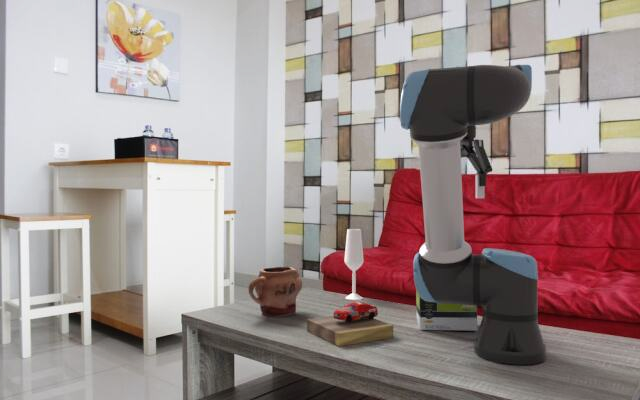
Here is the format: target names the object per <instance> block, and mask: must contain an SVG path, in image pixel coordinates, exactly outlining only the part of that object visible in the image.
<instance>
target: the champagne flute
mask: <svg viewBox="0 0 640 400" xmlns="http://www.w3.org/2000/svg"><path fill="white" fill-rule="evenodd" d="M345 238H346V239H345V250H344V258H343V259H344V260H343V261H344V264H345V265H346V266H347V268H349V270H350V271H352V275H351V276H352V277H351V280H352V281H351V282H352V283H351V284H352V286H351V289H352V290H351V292H352V293H350V294H348V295H347V296H345V299H346V300H356V301H357V300H362V299H363V297H362V296H360V295H359V294H358V293H356V289H357V288H356V287H357V286H356V284H357V283H356V282H357V281H356V280H357V278H356V277H357V275H356V274H357V273H356V271H358V270H359V269H360V268H361V267H362V266H363V264H364V260H365V259H364V250H363V239H362V238H363V237H362V230H361V229H360V228H347V230H346V237H345Z"/></svg>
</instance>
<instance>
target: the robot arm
mask: <svg viewBox="0 0 640 400" xmlns="http://www.w3.org/2000/svg"><path fill="white" fill-rule="evenodd" d="M532 71H533V69H532V65H530V64H516V65H505V66H503V65H493V64H479V65H477V64H476V65H467V66H455V67H444V68H443V67H442V68H441V67H439V68H428V69H423V70H417V71H413V72H410V73H408V75H407V76H406V78H405V79H404V83H403V84H402V85H403V86H402V90H401V95H400V103H399V104H400V105H399V106H400V107H399V120H400V125H401V128H402V129H404V130H409V135H410V139H411V141H412V142H414V143H415V144H417V146H418V157H419V173H420V183H421V185H420V186H421V196H422V197H421V198H422V199H421V200H422V210H423V223H424V226H423V227H424V236H425V237H424V238H425V239H424V241H425V242H424V243H423V244H421V246H420V248H419V252H417V253H416V254H415V255H414V258H413V265H412V266H413V267H412V268H413V281H414V286H415V291H416V290H417V293H418V295H419V296H420V298H421V299H423V300H424V301H428V302H435V303H438V304H442V303H448V304H463V305H477V307H478V306H479V307H482V317H481V321H480V325H479V327H478V329H477V334H476V337H475V339H474V343H473V344H474V349H473V351H474V353H475V354H476V355H477V356H478V357H480V358H482V359H484V360H488V361H491V362H495V363H501V364H508V365H518V366H519V365H522V366H523V365H535V364H536V365H537V364H540V363H543V362H545V361H546V360H547V347H546V345H545V342H544V339H543V335H542V332H541V328H540V326H539V322H538V321H539V319H538V311H539V310H538V305H539V304H538V280H539V275H538V274H539V273H538V262H537V260H536V258H534V257H533V256H532V255H530V254H526V253H523V252H518V251H514V250H508V249H501V248H490V247H489V248H488V247H487V248H485V247H484V248H483V249H482V251H481V254H477V253H476V254H474V253H473V252H472V247H471V245H470V244H469V243H468V242H467V241H465V229H464V228H465V226H464V225H465V224H464V206H463V205H464V203H463V201H464V200H463V199H464V198H463V184H462V183H463V181H462V180H463V178H462V175H463V174H462V158H467V159H468V161H469V162H470V163H471V165H472V166H473V168H474V170H475V171H476V174H475V179H474V180H475V181H474V182H475V186H474V187H475V192H474V194H475V199H485V197H486V196H485V194H486V193H485V187H486V186H487V175H488V173H492V172H493V167H492V165H491V163H490V160H489V157H488V154H487V152H486V149H485V147H484V146H485V145H484V140H483V139H475V138H476V137H477V127H476V126H481V125H482V126H483V125H489V124H493V123H497V122H500V121H502V120H504V119H507V118H510V117H511V116H513V115H515V114H517V113H518V112H519V111H520V110H522V109H523V108H524V107H525V106H526V105H527V103H528V101H529V99H530V98H531V94H532V89H533V88H532V87H533V85H532V84H533V81H532V80H533V76H532V75H533V72H532ZM472 253H473V254H472Z"/></svg>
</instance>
